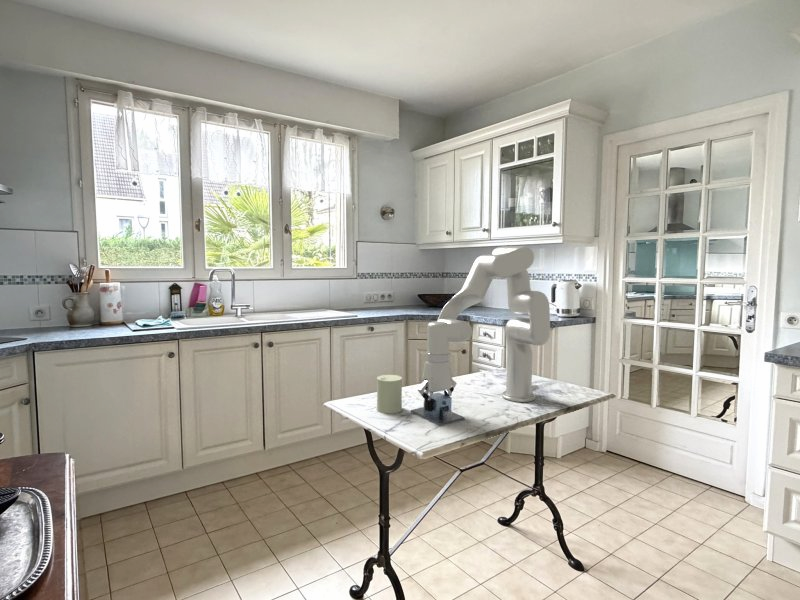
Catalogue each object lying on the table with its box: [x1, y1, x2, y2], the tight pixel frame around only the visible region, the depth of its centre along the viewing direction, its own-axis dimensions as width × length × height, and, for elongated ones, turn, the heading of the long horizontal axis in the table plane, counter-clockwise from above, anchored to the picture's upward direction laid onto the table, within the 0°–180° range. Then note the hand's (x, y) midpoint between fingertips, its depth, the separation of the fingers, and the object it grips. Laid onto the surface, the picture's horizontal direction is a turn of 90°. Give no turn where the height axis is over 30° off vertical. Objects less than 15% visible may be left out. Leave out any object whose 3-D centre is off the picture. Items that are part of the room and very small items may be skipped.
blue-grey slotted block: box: [423, 392, 453, 418], centre depth 155 cm, size 6×7×6 cm
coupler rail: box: [410, 406, 466, 427], centre depth 155 cm, size 11×16×3 cm
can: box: [376, 374, 403, 414], centre depth 162 cm, size 9×9×12 cm
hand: (437, 408), depth 155 cm, fingers open, 7 cm apart
